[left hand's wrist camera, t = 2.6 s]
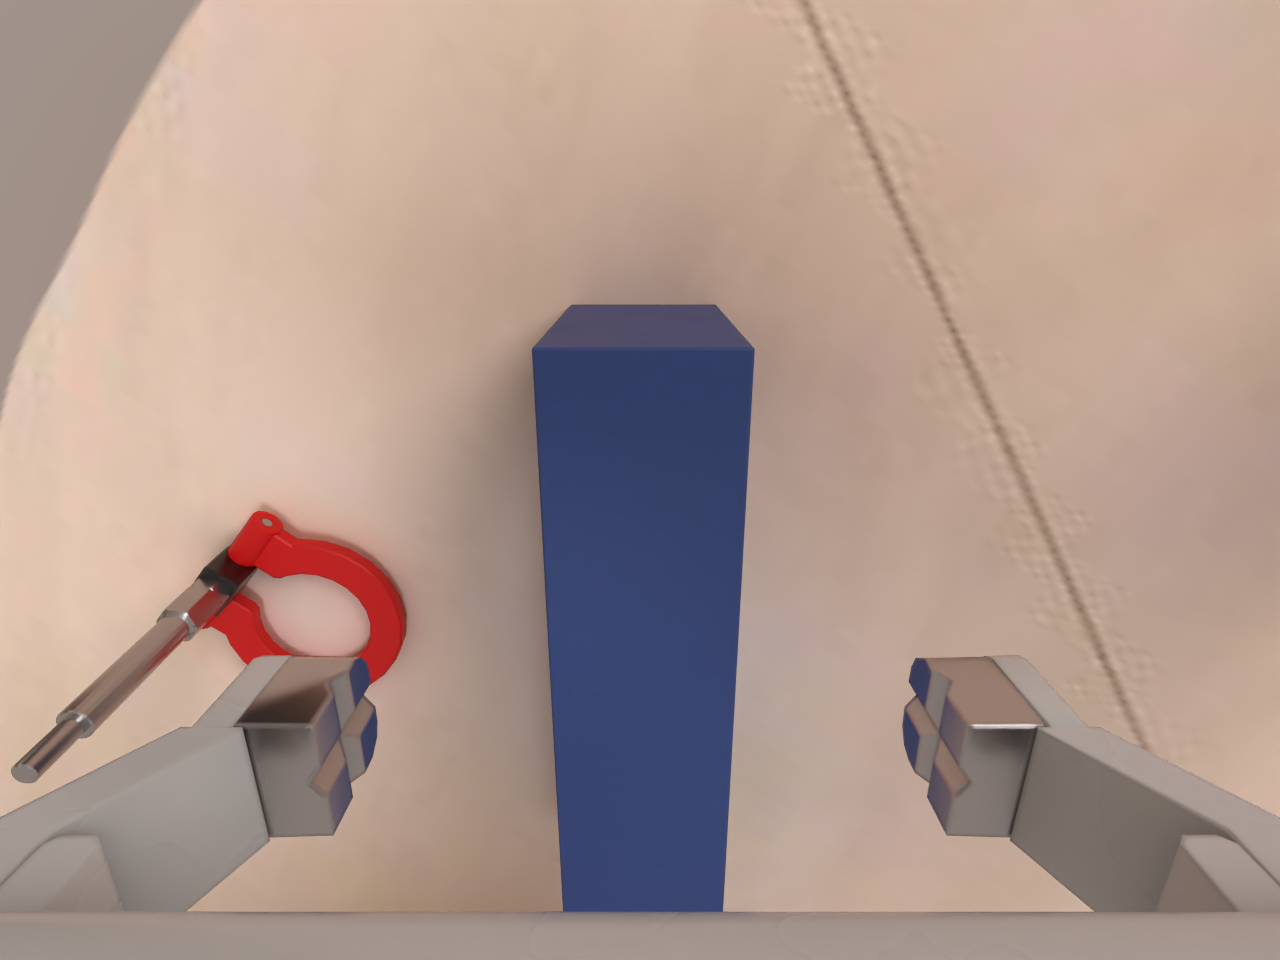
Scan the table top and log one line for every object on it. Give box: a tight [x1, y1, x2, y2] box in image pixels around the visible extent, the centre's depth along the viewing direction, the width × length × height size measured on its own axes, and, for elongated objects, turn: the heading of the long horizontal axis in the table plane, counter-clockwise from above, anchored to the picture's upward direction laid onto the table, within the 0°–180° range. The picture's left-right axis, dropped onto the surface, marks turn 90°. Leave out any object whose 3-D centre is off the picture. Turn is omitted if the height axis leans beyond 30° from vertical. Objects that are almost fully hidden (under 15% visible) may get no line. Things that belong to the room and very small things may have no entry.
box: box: [532, 305, 754, 912], centre depth 28 cm, size 28×6×11 cm, turn 0°
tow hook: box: [11, 511, 406, 783], centre depth 28 cm, size 8×13×9 cm
